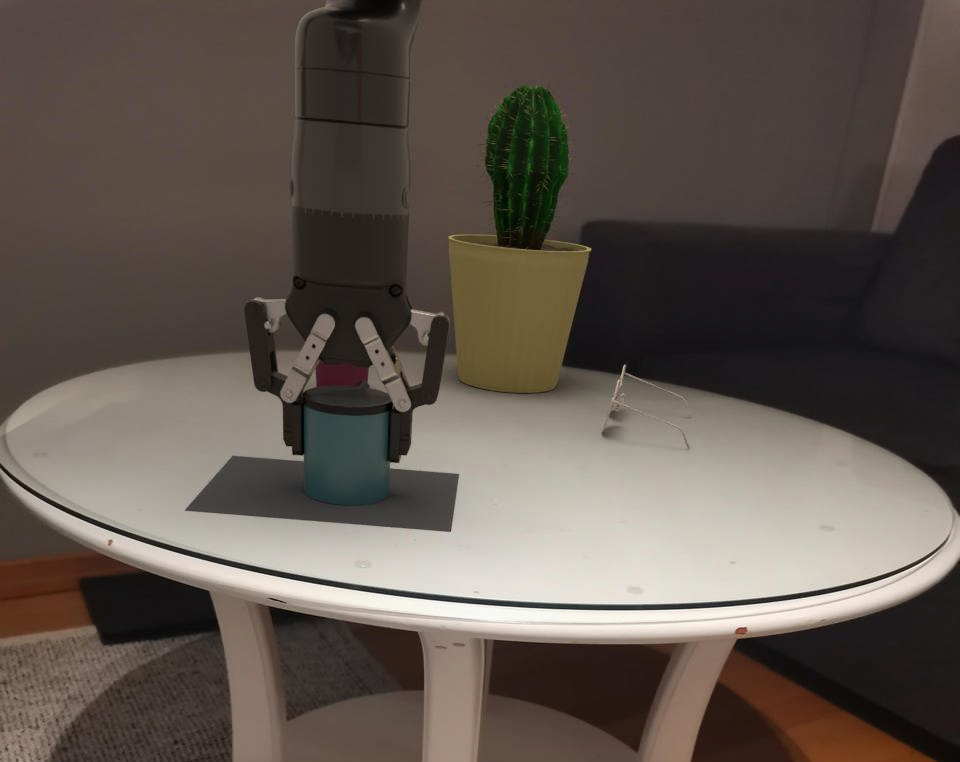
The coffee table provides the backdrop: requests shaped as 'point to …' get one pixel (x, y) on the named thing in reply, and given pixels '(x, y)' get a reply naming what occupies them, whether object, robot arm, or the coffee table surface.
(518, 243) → the potted cactus
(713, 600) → the coffee table surface
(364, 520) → the cloth
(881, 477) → the coffee table surface
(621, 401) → the sunglasses
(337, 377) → the cup
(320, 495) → the pot
